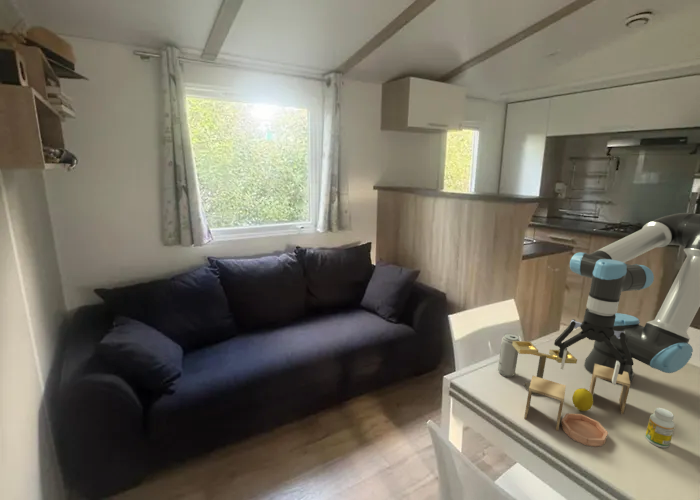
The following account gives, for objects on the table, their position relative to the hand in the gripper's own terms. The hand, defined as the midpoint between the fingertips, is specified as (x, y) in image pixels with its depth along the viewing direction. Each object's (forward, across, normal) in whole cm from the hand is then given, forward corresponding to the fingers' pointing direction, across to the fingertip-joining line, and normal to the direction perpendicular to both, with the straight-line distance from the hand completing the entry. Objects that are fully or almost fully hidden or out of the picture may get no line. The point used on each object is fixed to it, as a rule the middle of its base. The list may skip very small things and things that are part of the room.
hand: (587, 374), depth 112 cm
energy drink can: (+13, +24, -9) cm, 29 cm away
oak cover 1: (+13, +10, +10) cm, 19 cm away
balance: (+13, +12, -4) cm, 19 cm away
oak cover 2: (+13, -7, -10) cm, 18 cm away
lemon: (+13, 0, 0) cm, 13 cm away
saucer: (+13, -1, +11) cm, 17 cm away
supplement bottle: (+13, -19, +2) cm, 23 cm away
